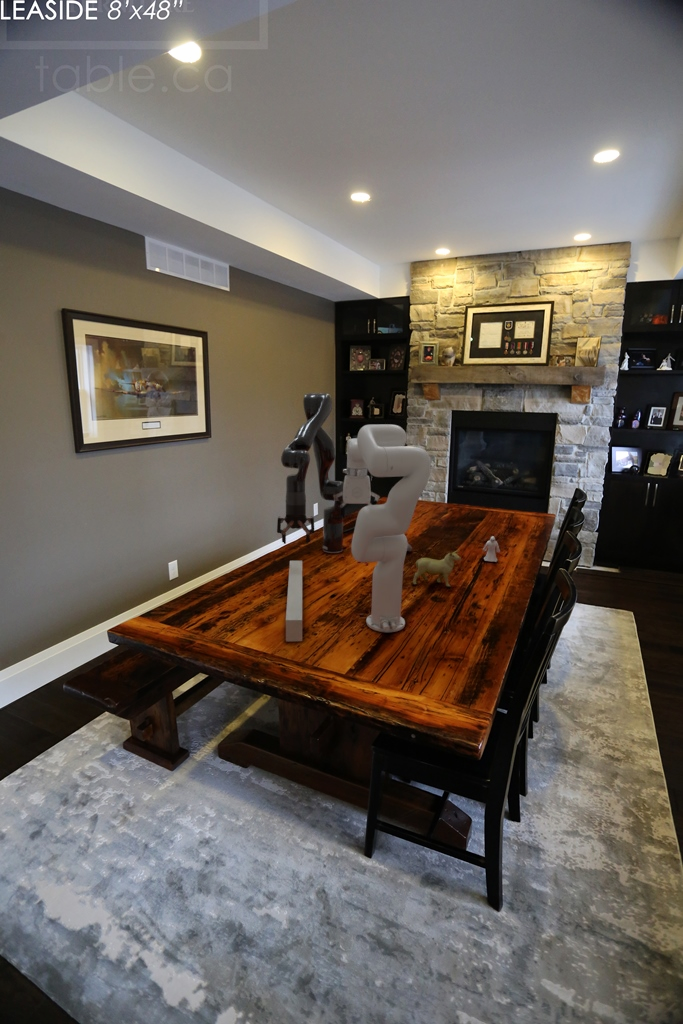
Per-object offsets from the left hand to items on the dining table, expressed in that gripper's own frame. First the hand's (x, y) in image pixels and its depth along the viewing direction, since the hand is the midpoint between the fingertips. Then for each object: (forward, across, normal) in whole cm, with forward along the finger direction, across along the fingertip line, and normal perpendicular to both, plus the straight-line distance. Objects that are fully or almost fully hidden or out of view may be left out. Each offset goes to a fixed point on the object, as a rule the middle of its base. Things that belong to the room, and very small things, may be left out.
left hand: (295, 543), depth 193 cm
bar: (+16, 0, +22) cm, 27 cm away
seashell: (+16, -50, -34) cm, 62 cm away
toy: (+16, -54, +6) cm, 57 cm away
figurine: (+16, -87, -22) cm, 91 cm away
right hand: (-11, -23, +4) cm, 26 cm away
